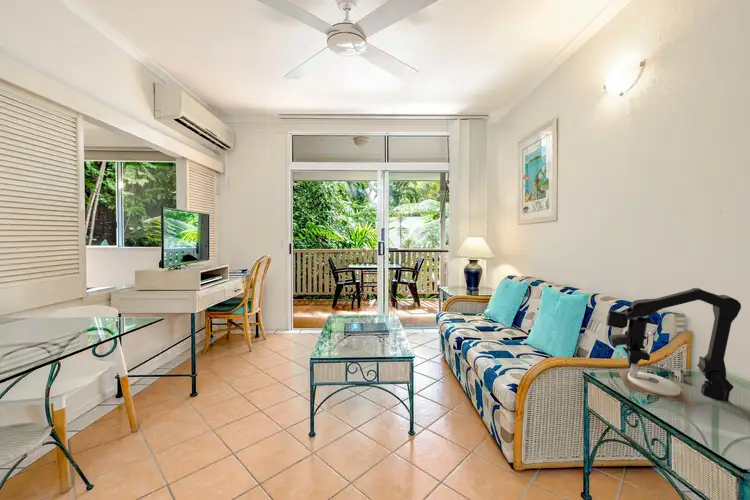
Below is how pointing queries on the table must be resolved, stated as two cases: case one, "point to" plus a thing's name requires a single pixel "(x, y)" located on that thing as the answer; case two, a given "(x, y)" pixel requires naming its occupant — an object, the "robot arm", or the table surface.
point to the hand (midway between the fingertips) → (630, 367)
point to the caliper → (676, 372)
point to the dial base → (681, 398)
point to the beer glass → (648, 342)
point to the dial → (652, 382)
